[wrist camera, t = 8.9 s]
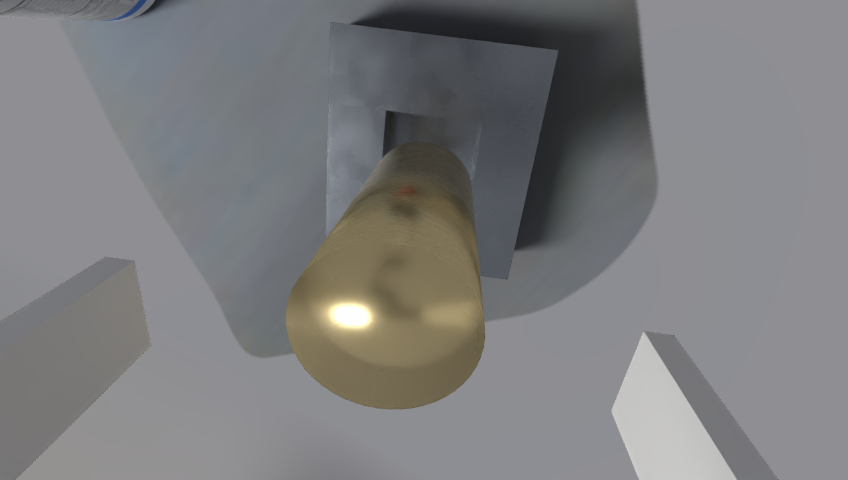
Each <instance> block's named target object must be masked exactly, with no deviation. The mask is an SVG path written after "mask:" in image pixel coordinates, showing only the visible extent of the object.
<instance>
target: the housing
mask: <svg viewBox="0 0 848 480" xmlns="http://www.w3.org/2000/svg"><path fill="white" fill-rule="evenodd" d="M558 51H559V50H552V49H544V48H536V47H528V46H520V45H512V44H504V43H496V42H488V41H480V40H472V39H464V38H456V37H448V36H440V35H432V34H424V33H416V32H408V31H400V30H392V29H384V28H376V27H368V26H360V25H352V24H344V23H336V22H330V62H329V108H328V153H327V199H326V238H327V237H328V236H329V234H330V233H331V231H332V230H333V228H334V227H335V225H336V224H337V223H338V221H339V220H340V218H341V217H342V215H343V214H344V212H345V211H346V210H347V208H348V207H349V205H350V204H351V202H352V201H353V199H354V198H355V197H356V195H357V194H358V192H359V191H360V189H361V188H362V186H363V185H364V184H365V182H366V181H367V179H368V178H369V176H370V175H371V173H372V172H373V171H374V169H375V168H376V166H377V165H378V163H379V162H380V161H381V159H382V158H383V157H384V156H385V155H386V154H387V153H388V152H390V151H391V150H393V149H394V148H396V147H398V146H400V145H403V144H405V143H409V142H417V141H424V142H431V143H435V144H438V145H441V146H443V147H445V148H447V149H448V150H450V151H451V152H453V153H454V154H455V155H456V156H457V157H458V158H459V159H460V160H461V161H462V163H463V164H464V166H465V167H466V169H467V171H468V173H469V176H470V179H471V184H472V194H473V205H474V216H475V226H476V237H477V248H478V259H479V270H480V276H485V277H493V278H500V279H507V280H508V276H509V271H510V267H511V262H512V258H513V253H514V249H515V244H516V240H517V235H518V231H519V226H520V222H521V217H522V213H523V208H524V204H525V199H526V195H527V190H528V186H529V181H530V177H531V172H532V168H533V163H534V159H535V154H536V150H537V145H538V141H539V136H540V132H541V127H542V123H543V118H544V114H545V109H546V105H547V100H548V96H549V91H550V87H551V82H552V78H553V73H554V69H555V64H556V60H557V55H558Z"/></svg>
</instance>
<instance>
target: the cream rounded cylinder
mask: <svg viewBox="0 0 848 480" xmlns="http://www.w3.org/2000/svg"><path fill="white" fill-rule="evenodd" d="M286 328H287V334H288V338H289V341H290V344H291V346H292V349H293V351H294V353H295V355H296V356H297V358H298V360H299V362H300V363H301V364H302V366H303V367H304V368H305V370H306V371H307V372H308V373H309V374H310V375H311V376H312V377H313V378H314V379H315V380H316V381H317V382H319V383H320V384H321V385H322V386H324V387H325V388H327V389H328V390H330V391H331V392H333V393H335V394H336V395H338V396H340V397H342V398H344V399H346V400H349V401H352V402H354V403H357V404H361V405H364V406H368V407H374V408H380V409H409V408H415V407H420V406H424V405H427V404H430V403H433V402H436V401H438V400H440V399H442V398H444V397H446V396H448V395H449V394H451V393H452V392H454V391H455V390H456V389H458V388H459V387H460V386H461V385H462V384H463V383H464V382H465V381H466V380H467V379H468V378H469V377H470V376H471V374H472V373H473V371H474V370H475V368H476V366H477V364H478V362H479V360H480V358H481V355H482V351H483V348H484V340H485V325H484V314H483V303H482V292H481V281H480V270H479V259H478V248H477V237H476V226H475V216H474V205H473V194H472V184H471V179H470V176H469V173H468V171H467V169H466V167H465V166H464V164H463V163H462V161H461V160H460V159H459V158H458V157H457V156H456V155H455V154H454V153H453V152H451V151H450V150H448V149H447V148H445V147H443V146H441V145H438V144H435V143H431V142H424V141H417V142H409V143H405V144H403V145H400V146H398V147H396V148H394V149H393V150H391V151H390V152H388V153H387V154H386V155H385V156H384V157H383V158H382V159H381V161H380V162H379V163H378V165H377V166H376V168H375V169H374V171H373V172H372V173H371V175H370V176H369V178H368V179H367V181H366V182H365V184H364V185H363V186H362V188H361V189H360V191H359V192H358V194H357V195H356V197H355V198H354V199H353V201H352V202H351V204H350V205H349V207H348V208H347V210H346V211H345V212H344V214H343V215H342V217H341V218H340V220H339V221H338V223H337V224H336V225H335V227H334V228H333V230H332V231H331V233H330V234H329V236H328V237H327V238H326V240H325V241H324V243H323V244H322V246H321V247H320V249H319V250H318V251H317V253H316V254H315V256H314V257H313V259H312V260H311V262H310V263H309V264H308V266H307V267H306V269H305V270H304V272H303V273H302V275H301V276H300V277H299V279H298V281H297V282H296V284H295V286H294V287H293V289H292V292H291V294H290V297H289V300H288V304H287V309H286Z"/></svg>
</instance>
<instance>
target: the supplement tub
mask: <svg viewBox="0 0 848 480" xmlns="http://www.w3.org/2000/svg"><path fill="white" fill-rule="evenodd" d="M154 1H155V0H0V16H6V17H7V16H8V17H28V18H51V19H72V20H96V21H123V20H128V19H132V18H134V17H136V16H139V15H140V14H142V13H143V12H145V11H146V10H147V9H148V8H149V7H150V6H151V5H152V4H153V3H154Z"/></svg>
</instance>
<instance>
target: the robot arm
mask: <svg viewBox="0 0 848 480" xmlns="http://www.w3.org/2000/svg"><path fill="white" fill-rule="evenodd" d="M150 346H151V342H150V337H149V332H148V327H147V322H146V317H145V312H144V307H143V301H142V296H141V291H140V286H139V281H138V277H137V271H136V266H135V261H132V260H125V259H118V258H111V257H105V258H103V259H101V260H100V261H98V262H96V263H95V264H93V265H92V266H90V267H88V268H87V269H85V270H83V271H82V272H80V273H78V274H77V275H75V276H73V277H72V278H70V279H69V280H67V281H65V282H64V283H62V284H60V285H59V286H57V287H56V288H54V289H52V290H51V291H49V292H47V293H46V294H44V295H42V296H41V297H40V298H38V299H36V300H34V301H33V302H31V303H29V304H28V305H26V306H25V307H23V308H21V309H20V310H18V311H16V312H15V313H13V314H12V315H10V316H8V317H7V318H5V319H3V320H2V321H0V480H16V479H17V478H18V477H19V476H20V475H21V474H22V473H23V472H24V471H25V470H26V469H27V468H28V467H29V466H30V465H31V464H32V463H33V462H34V461H35V460H36V459H37V458H38V457H39V456H40V455H41V454H42V453H43V452H44V451H45V450H46V449H47V448H48V447H49V446H50V445H51V444H52V443H53V442H54V441H55V440H56V439H57V438H58V437H59V436H60V435H61V434H62V433H63V432H64V431H65V430H66V429H67V428H68V427H69V426H70V425H71V424H72V423H73V422H74V421H75V420H76V419H77V418H79V416H80V415H82V413H83V412H85V410H87V409H88V408H89V407H90V406H91V405H92V404H93V403H94V402H95V401H96V399H98V398H99V397H100V396H101V395H102V394H103V393H104V392H105V391H106V390H107V389H108V388H109V387H110V386H111V385H112V384H113V383H114V382H115V381H116V380H117V379H118V378H119V377H120V376H121V375H122V374H123V373H124V372H125V371H126V370H127V369H128V368H129V367H130V366H131V365H132V364H133V363H134V362H135V361H136V360H137V359H138V358H139V357H140V356H141V355H142V354H143V353H144V352H145V351H146V350H147V349H148V348H149V347H150ZM611 412H612V414H613V417H614V419H615V421H616V424H617V426H618V429H619V431H620V434H621V436H622V439H623V441H624V444H625V446H626V449H627V451H628V453H629V456H630V458H631V461H632V463H633V466H634V468H635V471H636V473H637V476H638V478H639V480H778V478H777V477H776V476H775V475H774V473H773V471H772V470H771V469H770V467H769V466H768V464H767V463H766V462H765V460H764V459H763V458H762V456H761V455H760V453H759V452H758V451H757V449H756V448H755V446H754V445H753V444H752V442H751V441H750V440H749V438H748V437H747V435H746V434H745V433H744V431H743V430H742V429H741V427H740V426H739V424H738V423H737V422H736V420H735V419H734V417H733V416H732V415H731V414H730V412H729V411H728V409H727V408H726V406H725V405H724V404H723V402H722V401H721V399H720V398H719V397H718V395H717V394H716V393H715V391H714V390H713V389H712V387H711V386H710V384H709V383H708V381H707V380H706V379H705V377H704V376H703V375H702V373H701V372H700V370H699V369H698V368H697V366H696V365H695V363H694V362H693V361H692V359H691V358H690V357H689V355H688V354H687V353H686V351H685V350H684V348H683V347H682V346H681V344H680V343H679V341H678V340H677V339H676V337H675V336H674V335H668V334H660V333H653V332H646V331H644V332H643V334H642V337H641V339H640V342H639V344H638V347H637V349H636V351H635V354H634V356H633V359H632V362H631V364H630V366H629V369H628V371H627V374H626V376H625V379H624V381H623V384H622V386H621V389H620V391H619V393H618V396H617V398H616V401H615V403H614V406H613V408H612V411H611Z"/></svg>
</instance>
